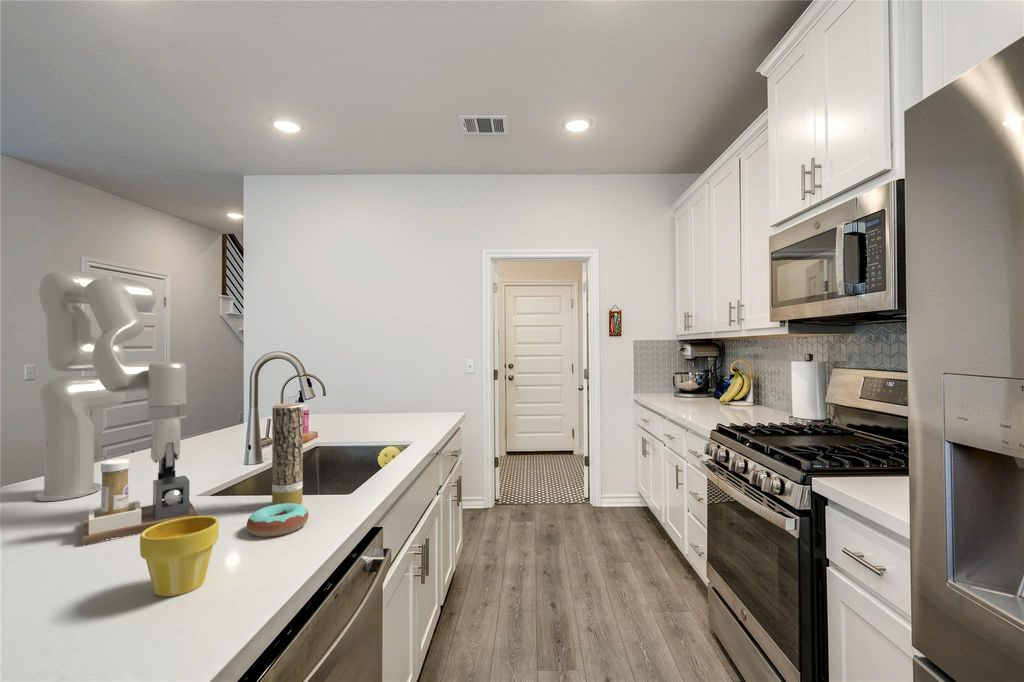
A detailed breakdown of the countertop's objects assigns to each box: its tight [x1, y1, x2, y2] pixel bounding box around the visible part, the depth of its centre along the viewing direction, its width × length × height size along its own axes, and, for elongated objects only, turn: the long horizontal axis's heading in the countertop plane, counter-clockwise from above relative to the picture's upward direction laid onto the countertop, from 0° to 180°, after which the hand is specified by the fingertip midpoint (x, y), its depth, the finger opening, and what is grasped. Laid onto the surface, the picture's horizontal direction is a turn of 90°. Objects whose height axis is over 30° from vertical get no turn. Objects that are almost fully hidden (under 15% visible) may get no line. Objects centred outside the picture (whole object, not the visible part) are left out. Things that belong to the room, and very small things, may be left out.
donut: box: [246, 503, 309, 538], centre depth 98 cm, size 12×12×4 cm
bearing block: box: [152, 475, 190, 521], centre depth 102 cm, size 6×6×8 cm
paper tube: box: [271, 402, 304, 506], centre depth 112 cm, size 7×7×25 cm
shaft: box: [162, 477, 182, 505], centre depth 103 cm, size 11×5×5 cm, turn 43°
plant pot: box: [139, 515, 220, 598], centre depth 74 cm, size 10×10×10 cm
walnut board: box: [81, 500, 199, 547], centre depth 101 cm, size 15×19×2 cm
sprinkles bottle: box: [100, 458, 130, 516], centre depth 97 cm, size 5×5×14 cm
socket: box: [88, 500, 142, 535], centre depth 96 cm, size 8×8×3 cm
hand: (166, 488), depth 109 cm, fingers closed
